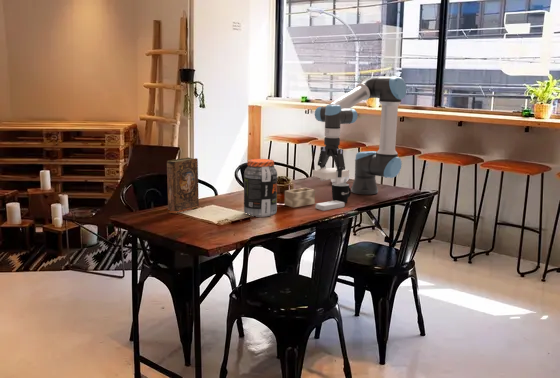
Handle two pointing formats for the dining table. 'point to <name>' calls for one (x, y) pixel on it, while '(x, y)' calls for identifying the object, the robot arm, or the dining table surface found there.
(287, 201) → the box
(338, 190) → the mug
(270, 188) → the supplement tub
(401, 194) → the dining table surface
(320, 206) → the block
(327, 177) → the lid
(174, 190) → the book
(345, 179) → the white spiral shell
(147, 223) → the dining table surface
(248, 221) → the dining table surface
